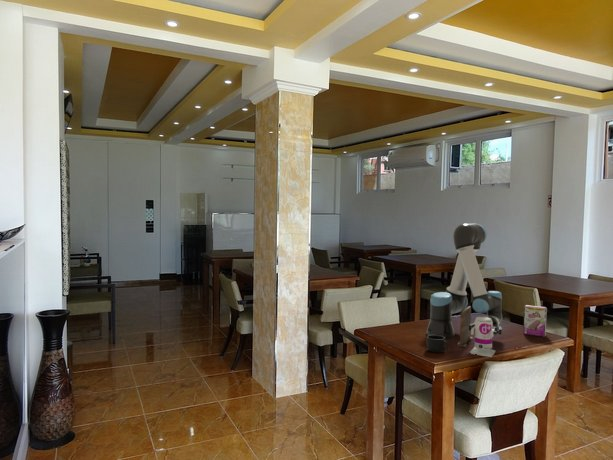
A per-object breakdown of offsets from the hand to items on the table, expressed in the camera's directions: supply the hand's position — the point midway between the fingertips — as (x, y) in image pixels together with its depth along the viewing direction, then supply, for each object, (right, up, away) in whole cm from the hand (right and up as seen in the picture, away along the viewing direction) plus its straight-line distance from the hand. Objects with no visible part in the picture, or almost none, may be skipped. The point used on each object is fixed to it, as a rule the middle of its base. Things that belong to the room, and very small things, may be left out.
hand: (481, 333), depth 218 cm
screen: (0, -10, +22) cm, 24 cm away
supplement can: (+3, -9, +4) cm, 10 cm away
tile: (+2, -11, +4) cm, 12 cm away
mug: (-20, -11, +5) cm, 23 cm away
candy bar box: (+45, -10, +38) cm, 60 cm away
